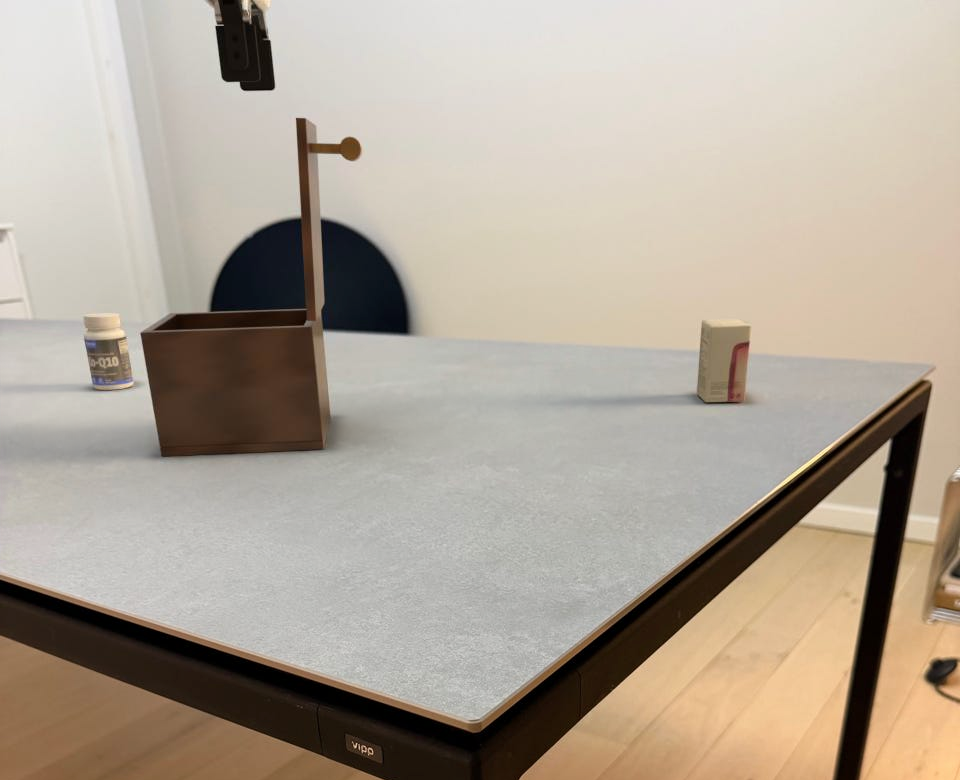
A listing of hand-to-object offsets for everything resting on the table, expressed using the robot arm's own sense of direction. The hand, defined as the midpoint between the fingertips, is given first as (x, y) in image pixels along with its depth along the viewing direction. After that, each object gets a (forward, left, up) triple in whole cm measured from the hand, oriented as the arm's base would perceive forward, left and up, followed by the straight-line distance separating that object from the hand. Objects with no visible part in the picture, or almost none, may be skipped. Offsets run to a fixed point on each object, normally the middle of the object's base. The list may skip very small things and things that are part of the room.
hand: (250, 86), depth 85 cm
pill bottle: (-23, +22, -30) cm, 43 cm away
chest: (-3, -6, -30) cm, 31 cm away
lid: (+4, -6, -11) cm, 13 cm away
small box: (+46, +2, -30) cm, 55 cm away
